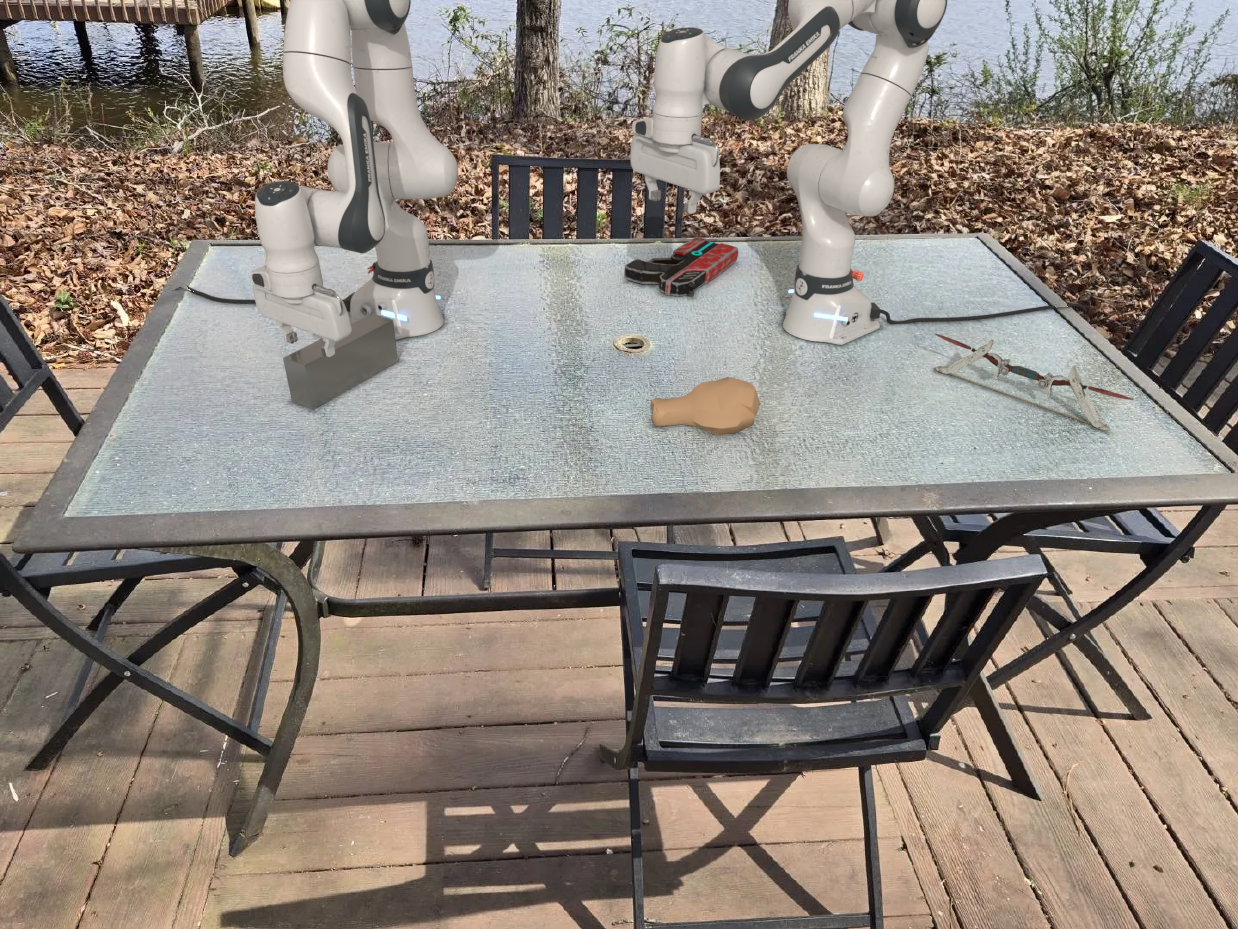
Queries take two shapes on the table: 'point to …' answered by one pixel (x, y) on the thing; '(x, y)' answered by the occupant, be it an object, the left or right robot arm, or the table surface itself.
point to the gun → (684, 267)
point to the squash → (711, 407)
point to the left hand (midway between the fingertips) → (310, 348)
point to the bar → (341, 362)
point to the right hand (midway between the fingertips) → (672, 206)
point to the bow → (1043, 381)
